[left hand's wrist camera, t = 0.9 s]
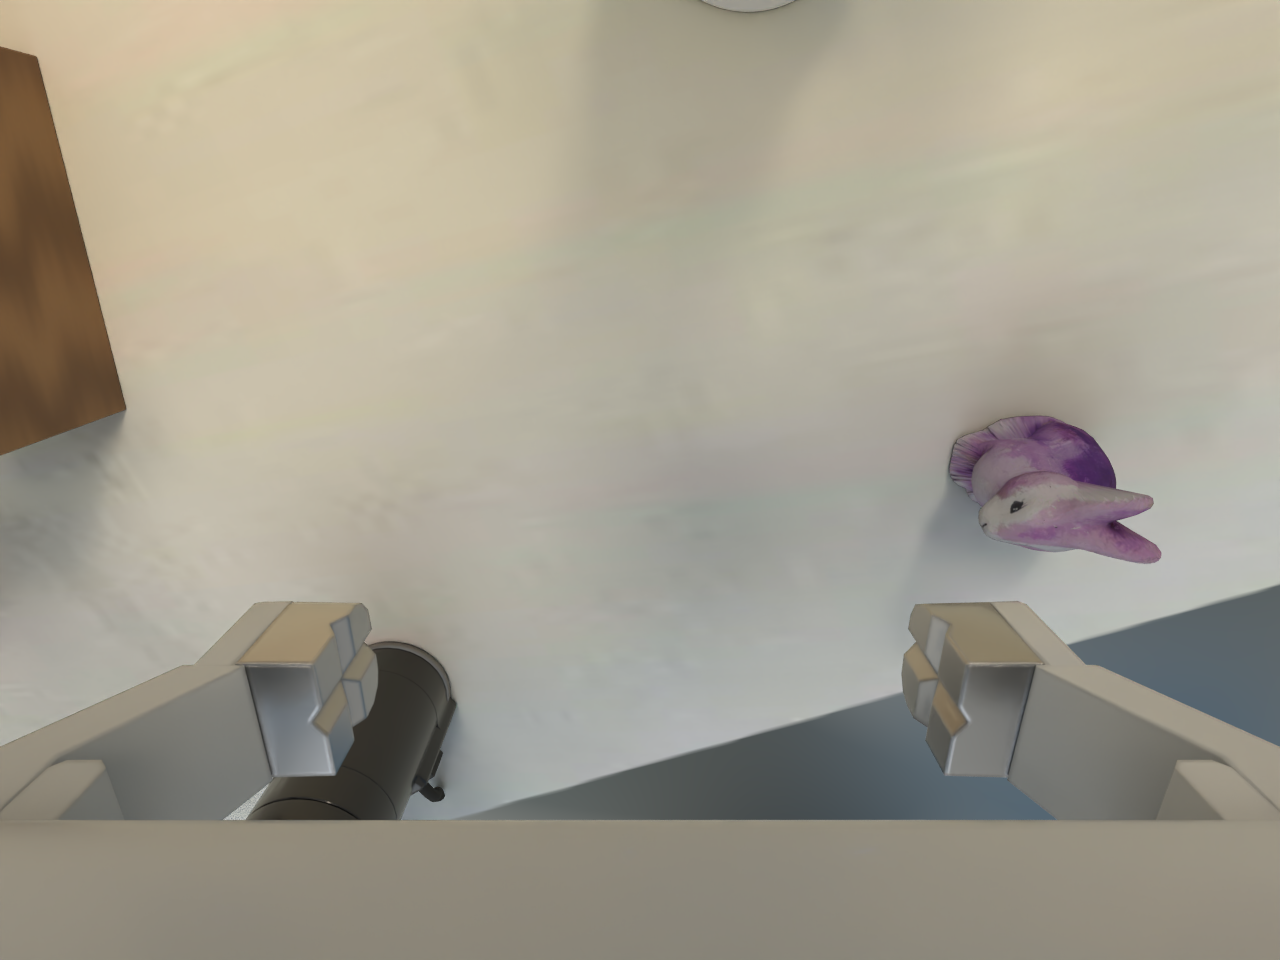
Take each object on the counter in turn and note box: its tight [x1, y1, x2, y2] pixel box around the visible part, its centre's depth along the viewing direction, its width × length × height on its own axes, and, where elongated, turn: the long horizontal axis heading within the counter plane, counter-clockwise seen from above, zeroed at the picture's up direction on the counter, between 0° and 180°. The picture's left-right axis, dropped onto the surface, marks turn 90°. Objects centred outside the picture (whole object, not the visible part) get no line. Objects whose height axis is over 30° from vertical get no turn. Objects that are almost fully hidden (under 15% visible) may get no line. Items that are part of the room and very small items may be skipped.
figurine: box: [949, 416, 1161, 564], centre depth 47 cm, size 9×10×15 cm
